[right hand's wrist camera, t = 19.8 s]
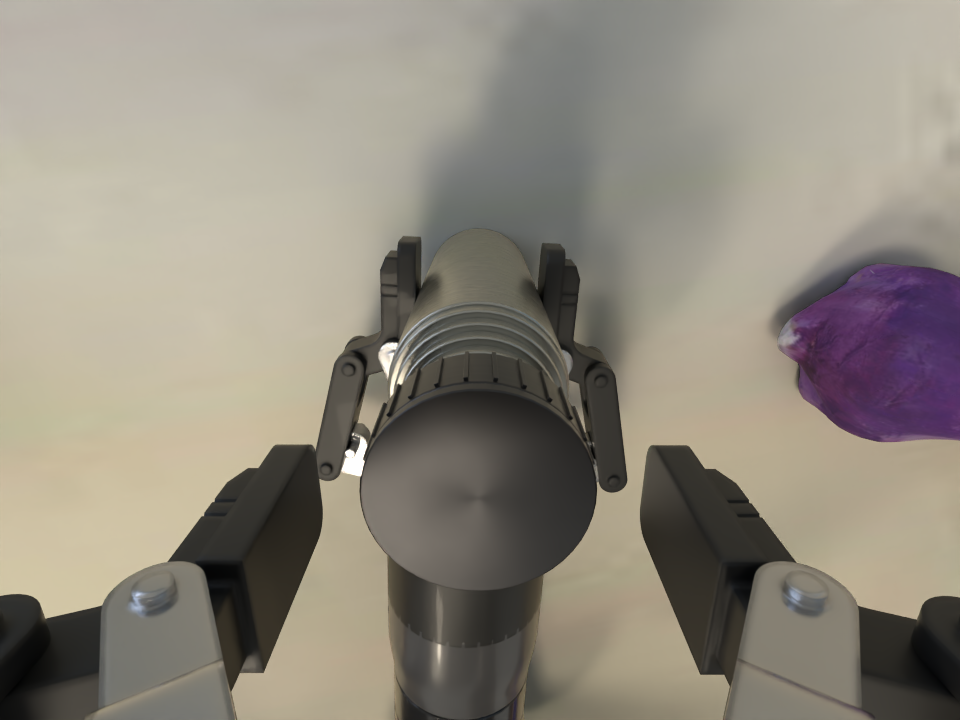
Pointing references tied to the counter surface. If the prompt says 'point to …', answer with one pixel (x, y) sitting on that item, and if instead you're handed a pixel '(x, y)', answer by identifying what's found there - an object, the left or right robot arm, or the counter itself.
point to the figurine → (883, 353)
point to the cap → (478, 474)
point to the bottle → (478, 310)
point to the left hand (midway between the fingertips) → (480, 244)
